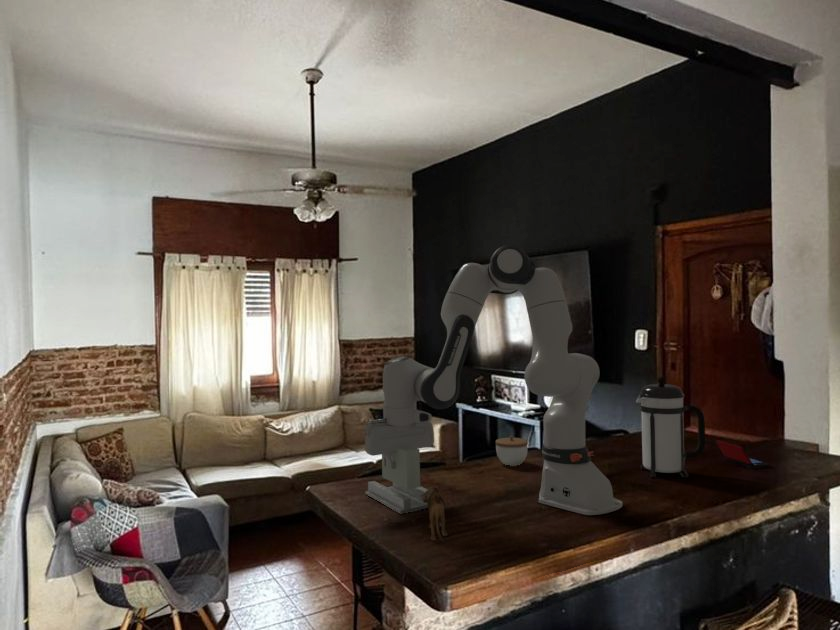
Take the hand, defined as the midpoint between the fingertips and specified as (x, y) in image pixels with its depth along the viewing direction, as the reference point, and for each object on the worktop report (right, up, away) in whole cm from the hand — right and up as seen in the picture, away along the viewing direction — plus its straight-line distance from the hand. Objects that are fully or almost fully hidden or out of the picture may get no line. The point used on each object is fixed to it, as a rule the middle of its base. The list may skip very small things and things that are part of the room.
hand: (400, 466), depth 160 cm
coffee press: (+82, -8, +21) cm, 85 cm away
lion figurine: (+9, -9, -24) cm, 27 cm away
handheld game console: (+111, -7, +30) cm, 115 cm away
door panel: (0, -4, 0) cm, 4 cm away
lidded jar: (+36, -9, +36) cm, 52 cm away
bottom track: (0, -9, 0) cm, 9 cm away
